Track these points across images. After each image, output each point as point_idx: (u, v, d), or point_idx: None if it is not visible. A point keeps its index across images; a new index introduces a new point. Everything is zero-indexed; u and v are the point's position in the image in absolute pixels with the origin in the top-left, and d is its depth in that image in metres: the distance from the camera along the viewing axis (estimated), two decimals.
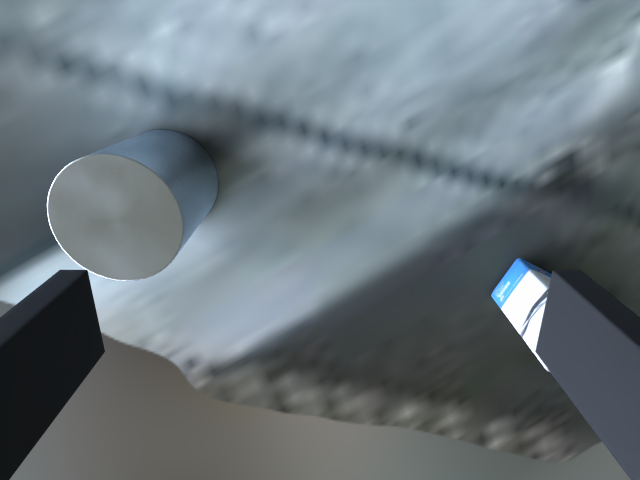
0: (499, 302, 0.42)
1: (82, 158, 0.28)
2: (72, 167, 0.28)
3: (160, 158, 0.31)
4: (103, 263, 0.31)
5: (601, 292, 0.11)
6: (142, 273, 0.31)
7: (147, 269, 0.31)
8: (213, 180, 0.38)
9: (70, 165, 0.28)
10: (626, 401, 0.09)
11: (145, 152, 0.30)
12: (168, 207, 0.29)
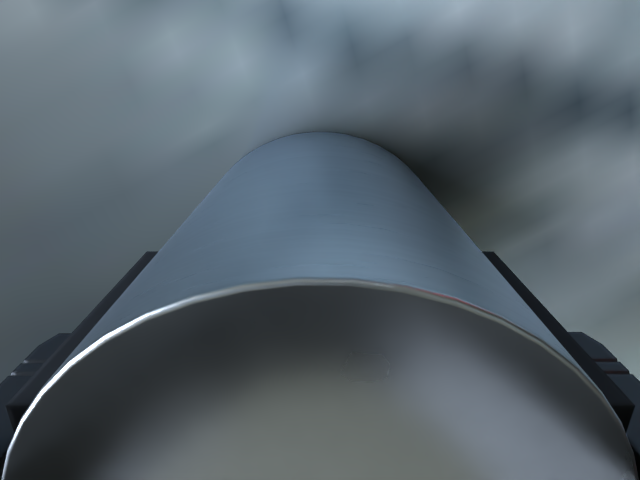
0: None
1: (189, 305, 0.05)
2: (130, 350, 0.05)
3: (474, 253, 0.07)
4: None
5: (504, 270, 0.12)
6: None
7: None
8: None
9: (119, 340, 0.05)
10: None
11: (428, 233, 0.07)
12: None
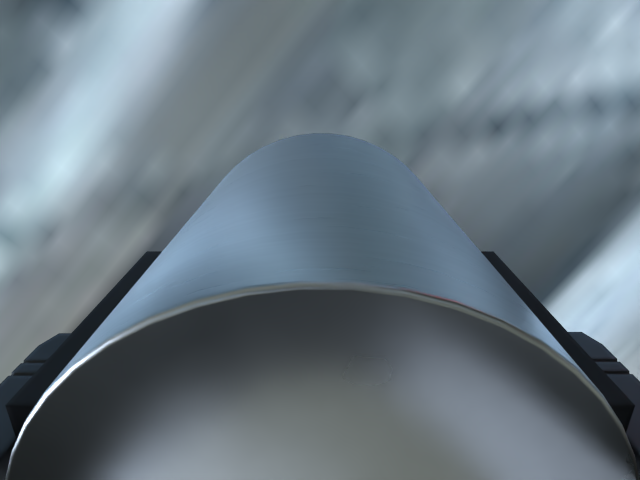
0: None
1: (193, 309, 0.05)
2: (133, 354, 0.05)
3: (476, 256, 0.07)
4: None
5: (504, 270, 0.12)
6: None
7: None
8: None
9: (122, 344, 0.05)
10: None
11: (430, 235, 0.07)
12: None
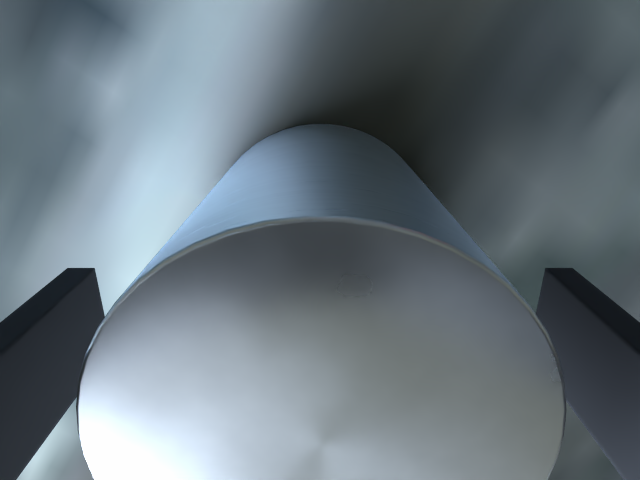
0: None
1: (227, 236, 0.07)
2: (182, 271, 0.07)
3: (444, 214, 0.09)
4: None
5: (592, 290, 0.11)
6: None
7: None
8: None
9: (175, 264, 0.07)
10: (615, 397, 0.09)
11: (406, 196, 0.09)
12: (526, 404, 0.08)
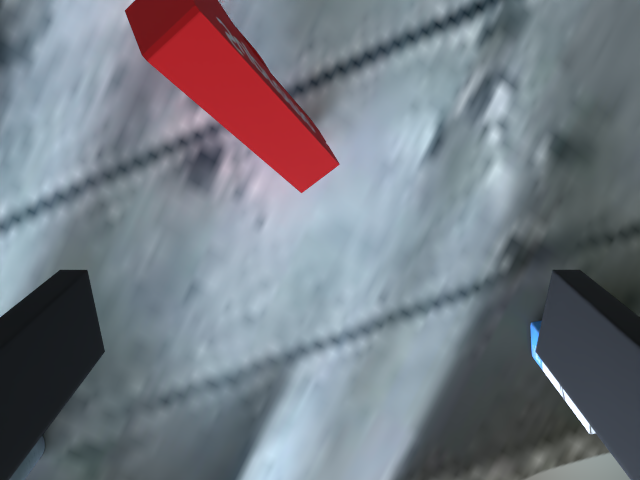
0: (539, 364, 0.49)
1: None
2: None
3: None
4: None
5: (601, 292, 0.11)
6: None
7: None
8: (35, 447, 0.54)
9: None
10: (626, 401, 0.09)
11: None
12: None
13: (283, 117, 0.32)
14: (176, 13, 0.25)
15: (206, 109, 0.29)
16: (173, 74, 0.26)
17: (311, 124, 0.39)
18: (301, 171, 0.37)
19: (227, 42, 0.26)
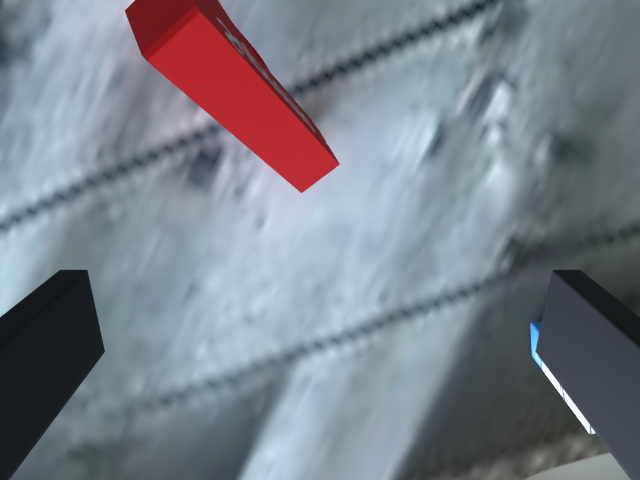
0: (539, 364, 0.49)
1: None
2: None
3: None
4: None
5: (601, 292, 0.11)
6: None
7: None
8: None
9: None
10: (626, 401, 0.09)
11: None
12: None
13: (283, 117, 0.32)
14: (176, 13, 0.25)
15: (206, 109, 0.29)
16: (173, 74, 0.26)
17: (311, 124, 0.39)
18: (301, 171, 0.37)
19: (227, 42, 0.26)
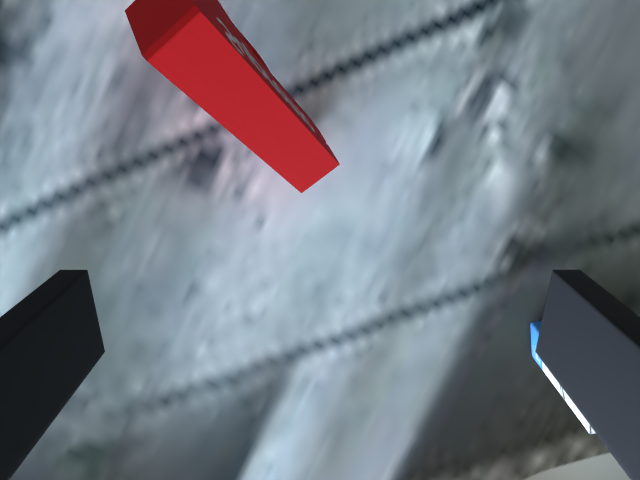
0: (539, 364, 0.49)
1: None
2: None
3: None
4: None
5: (601, 292, 0.11)
6: None
7: None
8: None
9: None
10: (626, 401, 0.09)
11: None
12: None
13: (283, 117, 0.32)
14: (176, 13, 0.25)
15: (206, 109, 0.29)
16: (173, 74, 0.26)
17: (311, 124, 0.39)
18: (301, 171, 0.37)
19: (227, 42, 0.26)
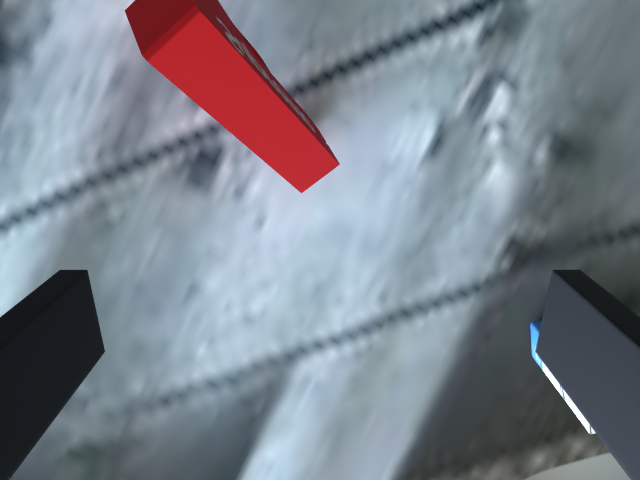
0: (539, 364, 0.49)
1: None
2: None
3: None
4: None
5: (601, 292, 0.11)
6: None
7: None
8: None
9: None
10: (626, 401, 0.09)
11: None
12: None
13: (283, 117, 0.32)
14: (176, 13, 0.25)
15: (206, 109, 0.29)
16: (173, 74, 0.26)
17: (311, 124, 0.39)
18: (301, 171, 0.37)
19: (227, 42, 0.26)
